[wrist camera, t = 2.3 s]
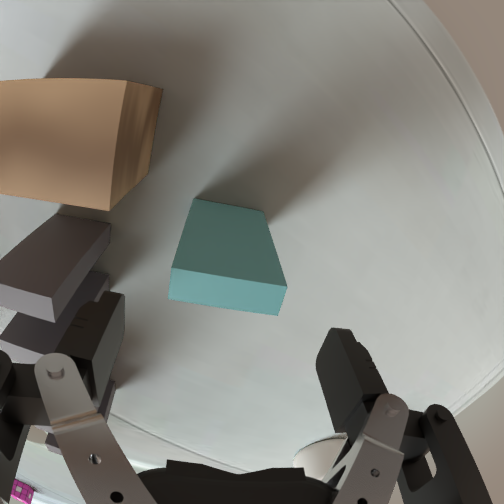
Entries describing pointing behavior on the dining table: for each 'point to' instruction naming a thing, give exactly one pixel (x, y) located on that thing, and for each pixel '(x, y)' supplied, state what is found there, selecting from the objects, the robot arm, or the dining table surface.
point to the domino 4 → (227, 260)
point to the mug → (318, 457)
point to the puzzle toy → (22, 492)
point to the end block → (75, 139)
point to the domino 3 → (103, 409)
